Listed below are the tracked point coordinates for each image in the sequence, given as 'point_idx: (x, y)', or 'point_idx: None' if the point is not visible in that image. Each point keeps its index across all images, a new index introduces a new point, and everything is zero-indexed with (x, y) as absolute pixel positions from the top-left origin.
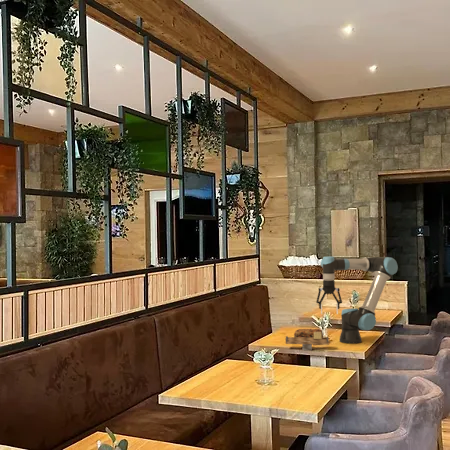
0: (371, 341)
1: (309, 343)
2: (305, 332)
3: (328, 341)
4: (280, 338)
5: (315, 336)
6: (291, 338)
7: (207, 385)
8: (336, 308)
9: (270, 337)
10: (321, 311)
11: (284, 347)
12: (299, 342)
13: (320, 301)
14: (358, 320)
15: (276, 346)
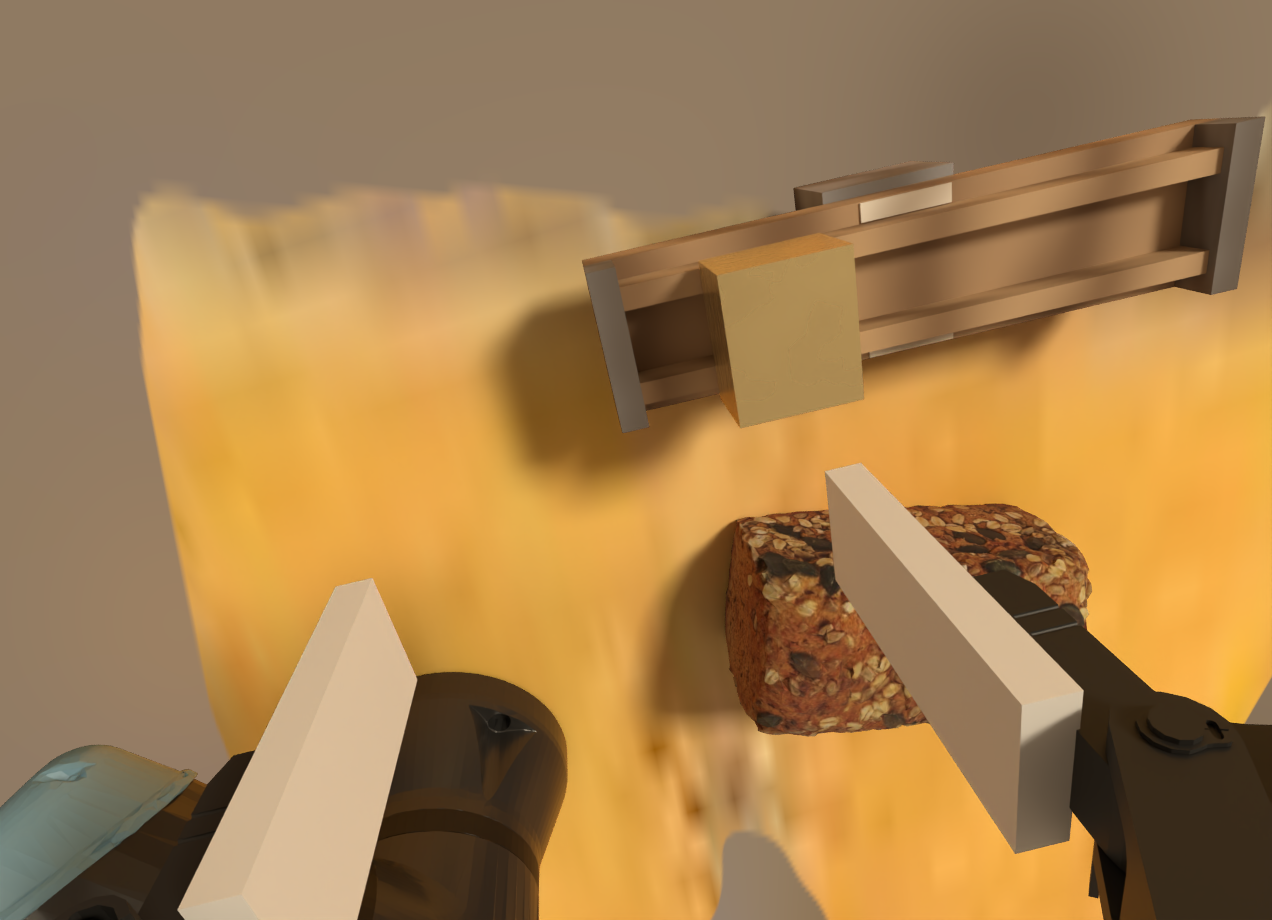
0: None
1: (857, 199)
2: None
3: (585, 268)
4: (1148, 667)
5: (805, 244)
6: (1143, 260)
7: None
8: (364, 787)
9: (1240, 675)
10: (885, 507)
11: None
12: (1008, 166)
13: (1240, 826)
14: (121, 863)
15: (1221, 295)
